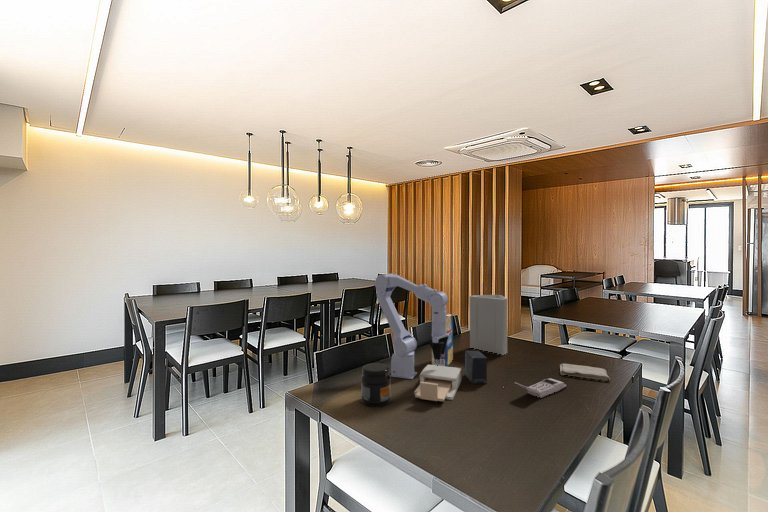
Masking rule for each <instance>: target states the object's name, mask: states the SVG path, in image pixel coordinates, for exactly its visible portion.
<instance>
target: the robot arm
mask: <svg viewBox="0 0 768 512" xmlns="http://www.w3.org/2000/svg"><path fill="white" fill-rule="evenodd" d="M374 286H375V291H376V299H377V301H378V302H379V303H378V304H379V305H380V307H381V310H382V312H383V315H384V317H385V318H386V321H387V323H388V325H389V328H390V329H391V331H392V334H393V337H392V343H393V350H394V353H392V355H391V360H390V369H391V370H390V376H391V378H392V377H393V378H399V379H408V380H412V379H414V377H416V376H417V374H418V372H417V371H415V350H416V349H417V346H418V342H417V340H416V338H415V337H414V336H413V335H412V334H411V332H410V331H409V330H407V329H406V328H405V326H404V323H403V322H402V319H401V317H400V315H399V313H398V311H397V309H396V307H395V304H394V302H393V300H392V298H391V296H392V293H393V291H394V290H395V288H396V287H399V288H402V289H404V290H406V291H410V292H412V293H414V295H415V297H416V298H418V299H420V300H422V301H424V302H426V303H428V304H429V305H430V307H431V317H432V318H431V338H432V337H433V341H432V339H431V340H429V341H428V344H429V346H430V348H431V352H432V351H433V355H434V359H437V360H440V357H441V354H444V352H445V347H446V343H447V340H448V338H449V334H447V333H446V314H447V305H448V302H449V296H448V294H447V293H445V292H444V291H442V290H441V291H438V289H436V288H434V289H433V288H431V287H429V286H428V284H426V283H424V284H423V283H422V284H419V285H418V284H415V283H414V282H411V281H410V280H408V279H406V278H404V277H402V276H401V275H398V274H396V273H394V272H391V273H386V274H385V273H384V274H378V275H377V276H376V278H375V281H374Z"/></svg>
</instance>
